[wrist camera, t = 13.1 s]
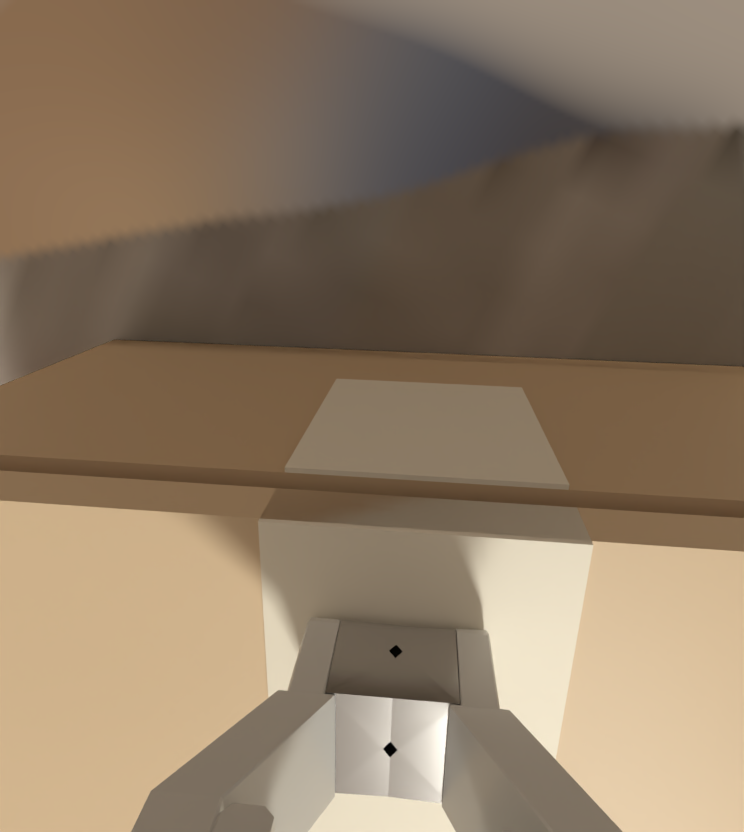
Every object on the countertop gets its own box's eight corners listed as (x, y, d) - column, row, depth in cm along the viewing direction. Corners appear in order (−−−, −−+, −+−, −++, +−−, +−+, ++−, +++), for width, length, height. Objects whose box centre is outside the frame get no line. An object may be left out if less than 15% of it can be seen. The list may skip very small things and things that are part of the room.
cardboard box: (776, 365, 19) (1113, 517, 10) (689, 711, 24) (858, 1045, 14) (113, 336, 21) (-150, 440, 11) (154, 662, 25) (-11, 926, 16)
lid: (1155, 544, 9) (1248, 590, 8) (864, 1055, 14) (898, 1124, 13) (-181, 459, 11) (-245, 487, 10) (-16, 935, 16) (-47, 986, 15)
